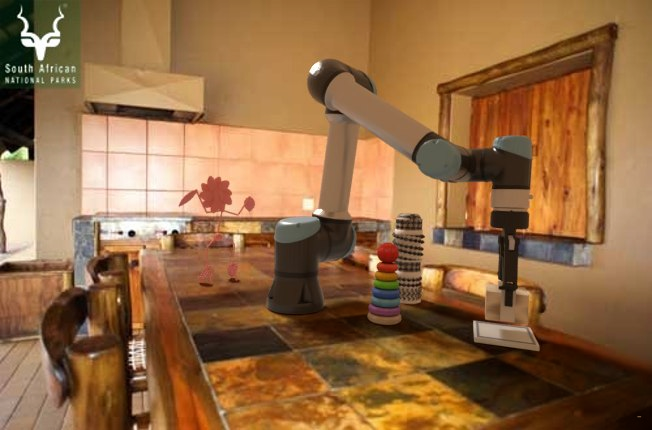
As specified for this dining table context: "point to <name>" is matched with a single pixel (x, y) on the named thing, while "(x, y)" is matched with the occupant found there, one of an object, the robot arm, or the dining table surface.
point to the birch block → (495, 300)
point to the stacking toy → (385, 288)
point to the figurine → (217, 198)
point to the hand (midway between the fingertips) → (505, 315)
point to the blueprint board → (505, 335)
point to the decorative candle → (409, 256)
